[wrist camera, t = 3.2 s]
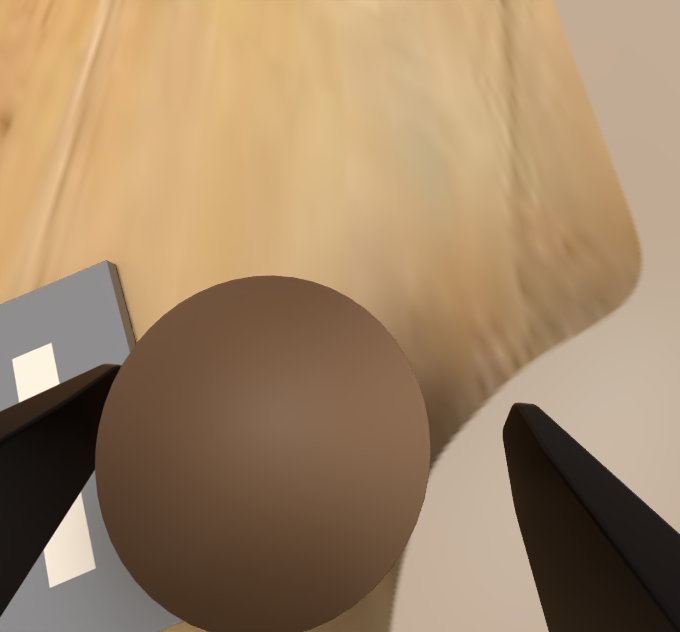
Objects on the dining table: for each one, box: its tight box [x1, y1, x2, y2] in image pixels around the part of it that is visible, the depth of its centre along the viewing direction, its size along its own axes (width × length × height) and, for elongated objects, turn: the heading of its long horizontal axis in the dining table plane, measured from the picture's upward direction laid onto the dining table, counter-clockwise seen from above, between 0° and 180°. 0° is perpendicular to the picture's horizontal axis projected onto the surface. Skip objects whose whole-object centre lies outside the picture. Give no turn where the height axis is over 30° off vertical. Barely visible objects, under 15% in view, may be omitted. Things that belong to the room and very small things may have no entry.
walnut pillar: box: [95, 276, 431, 632], centre depth 10 cm, size 4×4×11 cm
